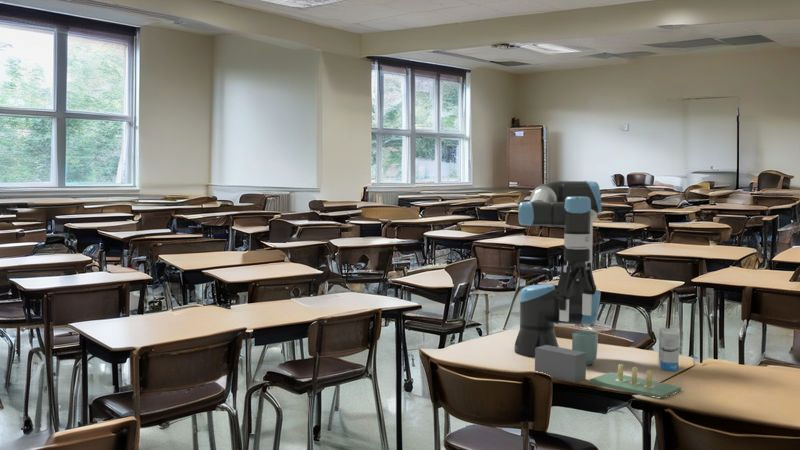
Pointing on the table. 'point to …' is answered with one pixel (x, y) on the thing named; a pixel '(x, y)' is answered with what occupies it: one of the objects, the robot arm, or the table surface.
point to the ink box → (668, 349)
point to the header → (635, 383)
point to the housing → (561, 363)
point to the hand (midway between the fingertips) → (575, 318)
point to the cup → (586, 344)
